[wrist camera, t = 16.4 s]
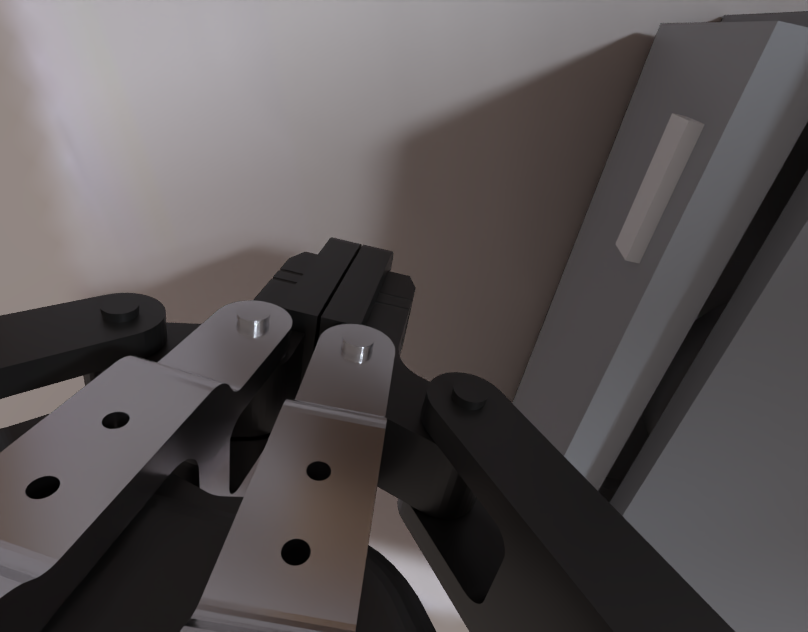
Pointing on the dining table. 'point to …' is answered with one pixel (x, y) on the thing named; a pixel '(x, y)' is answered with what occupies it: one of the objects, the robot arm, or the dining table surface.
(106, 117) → the dining table surface
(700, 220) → the tray
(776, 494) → the block
